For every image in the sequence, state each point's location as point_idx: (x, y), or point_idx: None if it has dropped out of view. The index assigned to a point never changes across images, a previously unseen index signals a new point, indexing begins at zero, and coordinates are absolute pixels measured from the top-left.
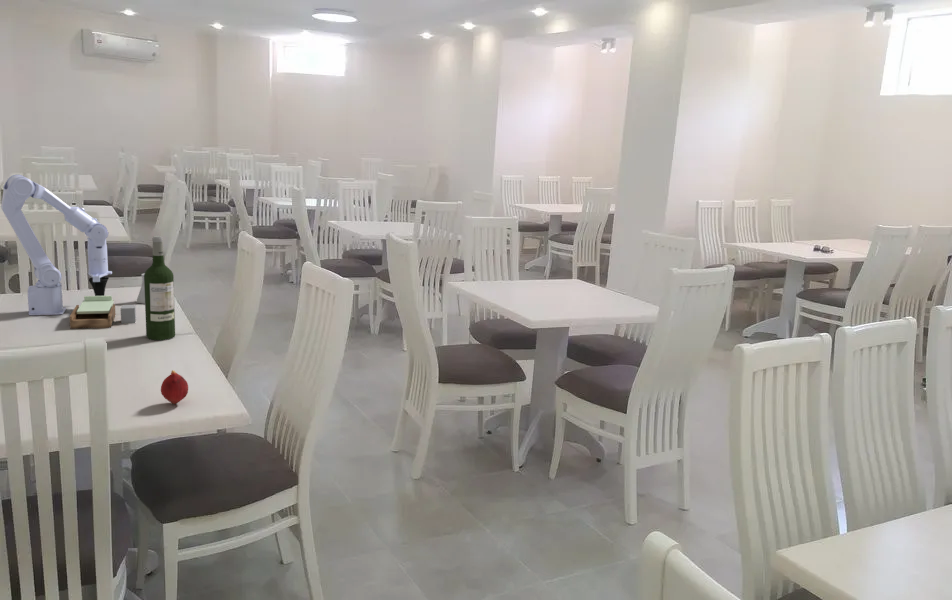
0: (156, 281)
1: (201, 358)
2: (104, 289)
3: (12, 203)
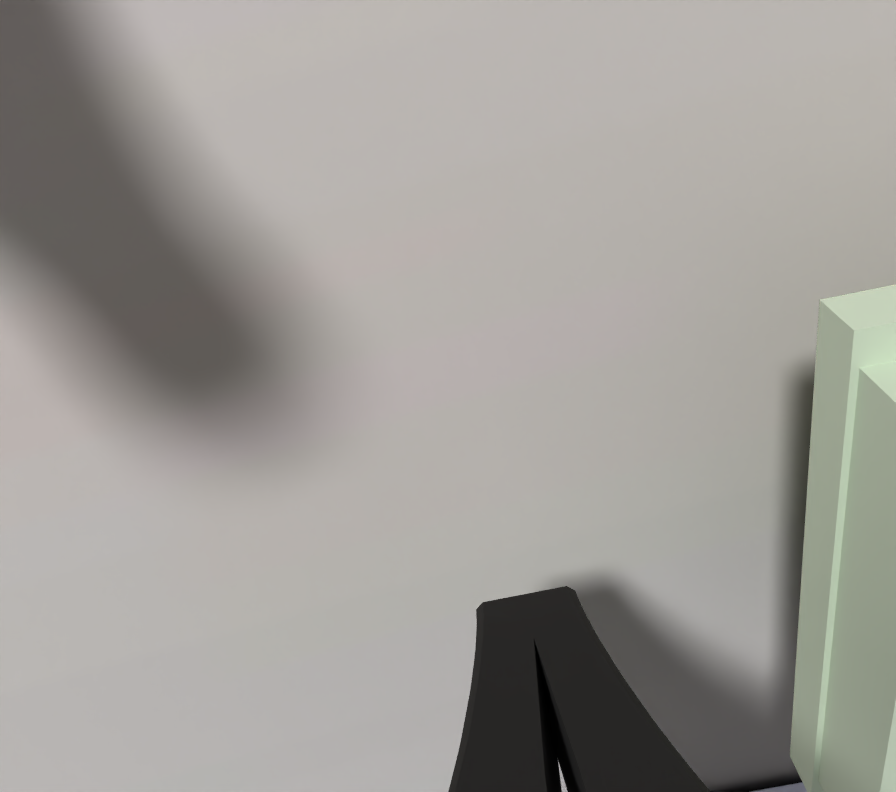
0: None
1: None
2: (699, 784)
3: None
